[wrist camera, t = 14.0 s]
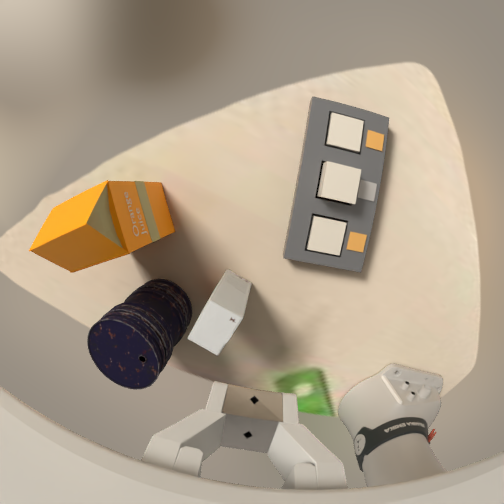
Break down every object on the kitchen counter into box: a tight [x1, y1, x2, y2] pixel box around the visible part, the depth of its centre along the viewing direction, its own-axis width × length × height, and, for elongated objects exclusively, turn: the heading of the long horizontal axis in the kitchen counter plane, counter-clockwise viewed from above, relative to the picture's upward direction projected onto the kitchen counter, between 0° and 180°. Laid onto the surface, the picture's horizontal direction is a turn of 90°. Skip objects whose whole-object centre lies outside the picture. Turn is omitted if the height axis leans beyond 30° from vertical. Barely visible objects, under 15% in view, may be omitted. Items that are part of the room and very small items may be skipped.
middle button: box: [318, 161, 361, 204], centre depth 34 cm, size 4×4×3 cm
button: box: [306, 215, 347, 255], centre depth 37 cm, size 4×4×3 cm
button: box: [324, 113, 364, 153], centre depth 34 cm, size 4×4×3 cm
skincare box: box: [188, 269, 252, 356], centre depth 36 cm, size 6×4×12 cm
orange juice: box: [29, 180, 175, 272], centre depth 30 cm, size 8×9×20 cm
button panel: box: [283, 97, 389, 272], centre depth 36 cm, size 11×22×3 cm, turn 170°
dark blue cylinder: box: [87, 279, 192, 389], centre depth 36 cm, size 10×10×15 cm
